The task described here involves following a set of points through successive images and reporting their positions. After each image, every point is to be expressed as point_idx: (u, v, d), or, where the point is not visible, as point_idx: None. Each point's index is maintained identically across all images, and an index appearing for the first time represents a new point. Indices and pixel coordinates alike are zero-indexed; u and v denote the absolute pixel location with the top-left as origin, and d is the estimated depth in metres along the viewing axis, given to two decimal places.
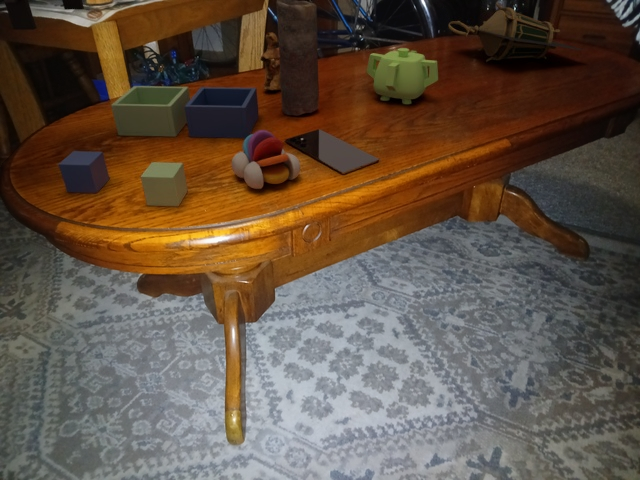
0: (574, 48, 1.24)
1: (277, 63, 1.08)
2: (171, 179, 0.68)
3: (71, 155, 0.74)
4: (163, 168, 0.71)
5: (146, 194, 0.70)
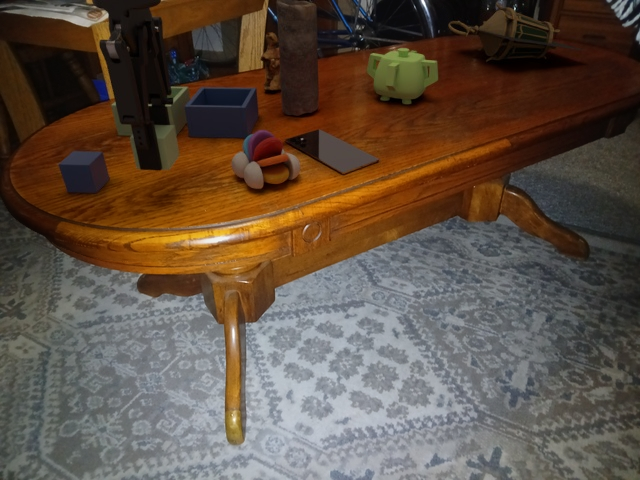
0: (574, 48, 1.24)
1: (277, 63, 1.08)
2: (162, 140, 0.65)
3: (71, 155, 0.74)
4: None
5: (135, 156, 0.67)
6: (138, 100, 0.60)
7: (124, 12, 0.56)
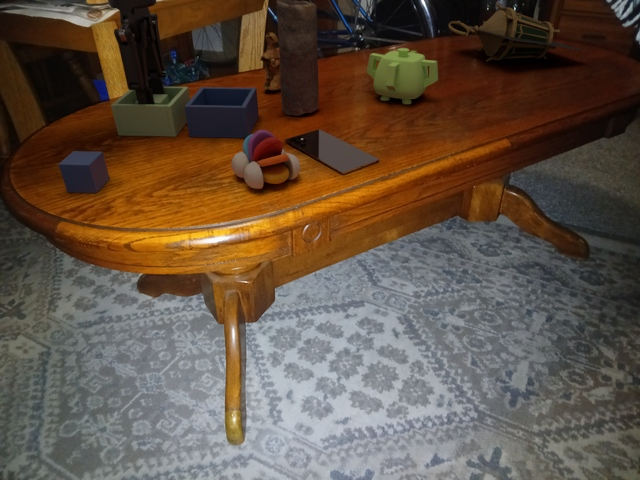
0: (574, 48, 1.24)
1: (277, 63, 1.08)
2: (158, 103, 0.91)
3: (71, 155, 0.74)
4: None
5: None
6: (140, 72, 0.85)
7: (130, 10, 0.81)
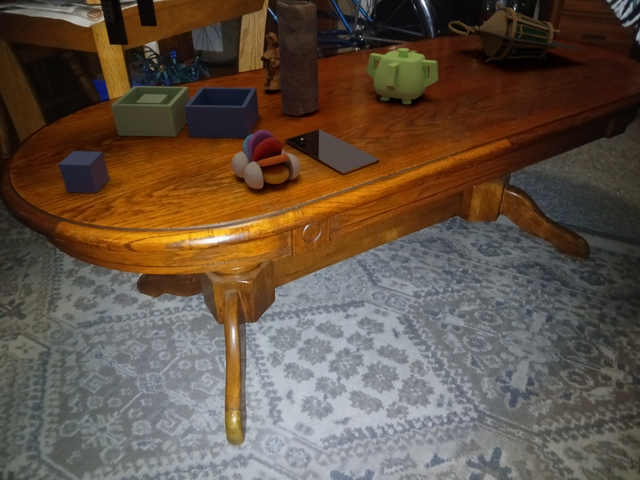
0: (574, 48, 1.24)
1: (277, 63, 1.08)
2: (158, 103, 0.91)
3: (71, 155, 0.74)
4: (152, 97, 0.93)
5: None
6: None
7: None
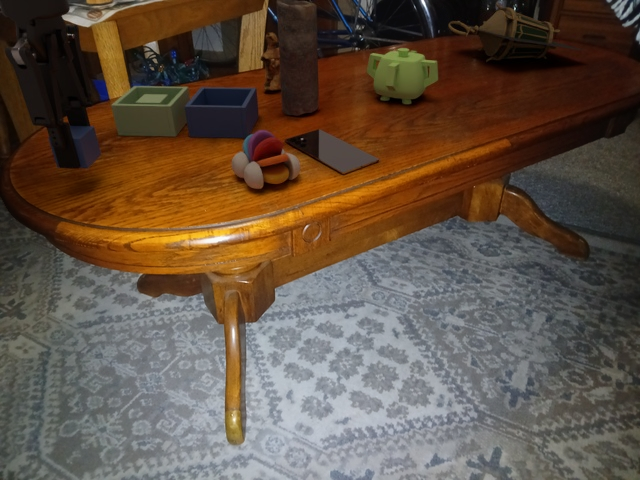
0: (574, 48, 1.24)
1: (277, 63, 1.08)
2: (158, 103, 0.91)
3: None
4: (152, 97, 0.93)
5: None
6: (48, 103, 0.64)
7: (29, 21, 0.60)
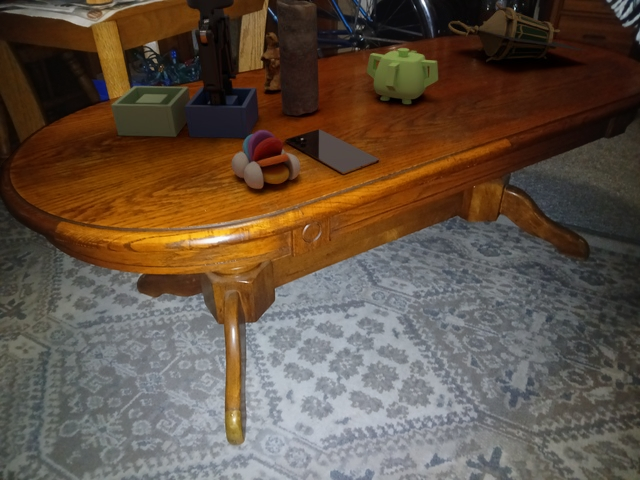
0: (574, 48, 1.24)
1: (277, 63, 1.08)
2: (158, 103, 0.91)
3: None
4: (152, 97, 0.93)
5: None
6: (217, 73, 0.84)
7: (211, 11, 0.80)
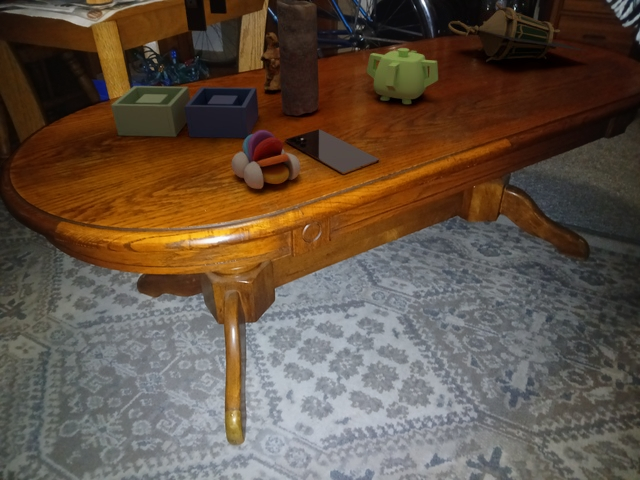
0: (574, 48, 1.24)
1: (277, 63, 1.08)
2: (158, 103, 0.91)
3: (214, 98, 0.93)
4: (152, 97, 0.93)
5: None
6: None
7: None
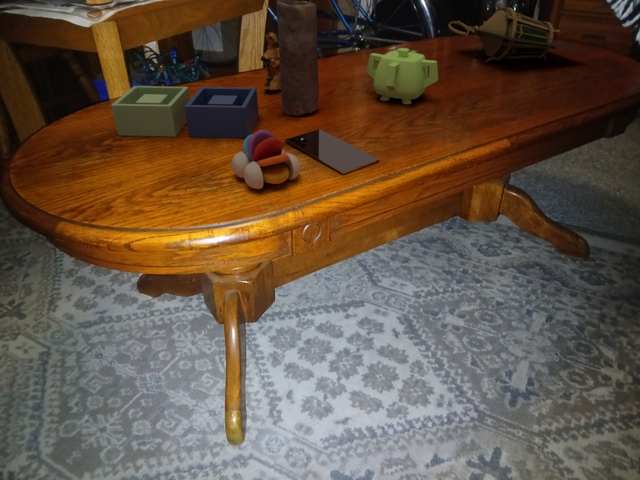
0: (574, 48, 1.24)
1: (277, 63, 1.08)
2: (158, 103, 0.91)
3: (214, 98, 0.93)
4: (152, 97, 0.93)
5: None
6: None
7: None
